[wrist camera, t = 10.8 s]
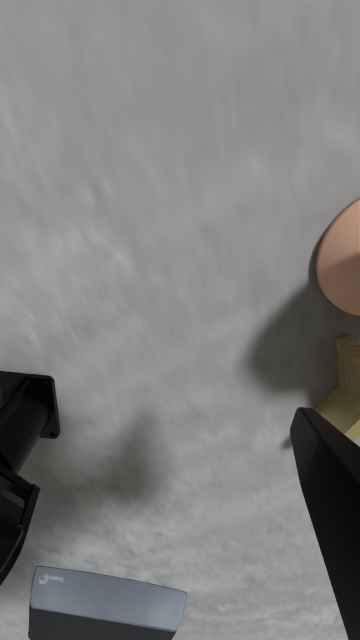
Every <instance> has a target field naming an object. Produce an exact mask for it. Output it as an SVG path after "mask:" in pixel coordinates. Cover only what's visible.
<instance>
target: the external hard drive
mask: <svg viewBox="0 0 360 640" xmlns="http://www.w3.org/2000/svg"><path fill="white" fill-rule="evenodd" d="M186 597H187V593H186V592H183V591H179V590H175V589H171V588H166V587H162V586H157V585H153V584H148V583H143V582H138V581H133V580H128V579H122V578H117V577H111V576H105V575H99V574H93V573H87V572H80V571H73V570H66V569H58V568H48V567H37V568H36V572H35V576H34V580H33V585H32V590H31V597H30V606H29V632H28V636H29V639H30V640H172V638H173V637H174V635H175V633H176V631H177V630H178V628H179V626H180V623H181V619H182V616H183V612H184V607H185V602H186Z"/></svg>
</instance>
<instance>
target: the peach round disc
mask: <svg viewBox="0 0 360 640" xmlns="http://www.w3.org/2000/svg"><path fill="white" fill-rule="evenodd" d="M315 269H316V277H317V281H318V284H319V287H320V289H321V291H322V292H323V294H324V295H325V296H326V298H327V299H328V300H329V301H331V302H332V303H333V304H334V305H335V306H336V307H338V308H339V309H341V310H342V311H345V312H347V313H349V314H352V315H356V316H360V198H358V199H357V200H355V201H354V202H352V203H351V204H350V205H348V206H347V207H346V208H345V209H344V210H343V211H342V212H341V213H340V214H339V215H338V216H337V217H336V218H335V219H334V220H333V222H332V223H331V224H330V226H329V227H328V229H327V230H326V232H325V234H324V236H323V238H322V240H321V242H320V245H319V247H318V251H317V255H316V263H315Z"/></svg>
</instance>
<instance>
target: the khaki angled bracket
mask: <svg viewBox="0 0 360 640" xmlns="http://www.w3.org/2000/svg"><path fill="white" fill-rule="evenodd" d="M336 350H337V361H338V372H339V383H340V384H339V385H338V386H337V387H336V388H335V389H334V390H333V391H332V392H331V393H330V394H329V395H328V396H327V397H326V398H325V399H324V401H323V402H322V403H321V404H320V405H319V406H318V407H317V408H316V409H315V411H316V412H318V413H319V414H320V415H321V416H322V417H324V418H325V419H326V420H327V421H329V422H330V423H331V424H332V425H333V426H335V427H336V428H337V429H338V430H340V431H341V432H342V433H343V434H344V435H346V436H347V437H348V438H349V439H351V440H352V441H354V440H355V439H357V438H358V437H359V436H360V345H359V344H358V343H357V342H356V341H355V340H354V339H353V338H352V337H351V336H350V335H349V336H345V337H340V338H336Z"/></svg>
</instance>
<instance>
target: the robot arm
mask: <svg viewBox="0 0 360 640" xmlns="http://www.w3.org/2000/svg"><path fill="white" fill-rule="evenodd" d="M45 381H47V382H48V383H46V382H45ZM59 434H60V425H59V417H58V408H57V400H56V392H55V384H54V379H53V378H52V377H50V376H46V375H36V374H25V373H15V372H5V371H0V585H1V584H2V582H3V581H4V580H5V578H6V577H7V575H8V574H9V572H10V570H11V569H12V567H13V565H14V564H15V562H16V560H17V558H18V556H19V554H20V552H21V550H22V547H23V544H24V541H25V538H26V535H27V531H28V528H29V525H30V521H31V518H32V515H33V511H34V508H35V505H36V501H37V498H38V494H39V491H40V488H39V487H38V486H36V485H35V484H33V485H32V484H31V483H29V482H28V481H26V480H25V479H23V478H22V477H20V476H19V475H17V474H18V472H19V470H20V469H21V467H22V465H23V464H24V462H25V460H26V459H27V457H28V455H29V454H30V452H31V450H32V449H33V447H34V445H35V444H36V442H37V440H38V439H39V437H40V438H51V439H56V438H57V437H58V436H59ZM290 436H291V441H292V446H293V451H294V456H295V461H296V466H297V471H298V476H299V480H300V485H301V488H302V492H303V495H304V499H305V502H306V505H307V508H308V511H309V515H310V518H311V521H312V524H313V527H314V530H315V534H316V537H317V540H318V543H319V546H320V550H321V553H322V556H323V559H324V562H325V566H326V569H327V572H328V575H329V578H330V582H331V585H332V588H333V591H334V594H335V598H336V601H337V604H338V607H339V610H340V614H341V617H342V620H343V623H344V626H345V629H346V633H347V636H348V639H349V640H360V447H359V446H358V445H357V444H355V443H354V442H353V441H352V440H351V439H349V438H348V437H347V436H346V435H344V434H343V433H342V432H341V431H340V430H338V429H337V428H336V427H335V426H333V425H332V424H331V423H330V422H329V421H327V420H326V419H325V418H324V417H322V416H321V415H320V414H319V413H318V412H316V411H315V410H314V409H312V408H304V407H299V408H298V409H297V410H296V412H295V415H294V418H293V421H292V424H291V427H290Z"/></svg>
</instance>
